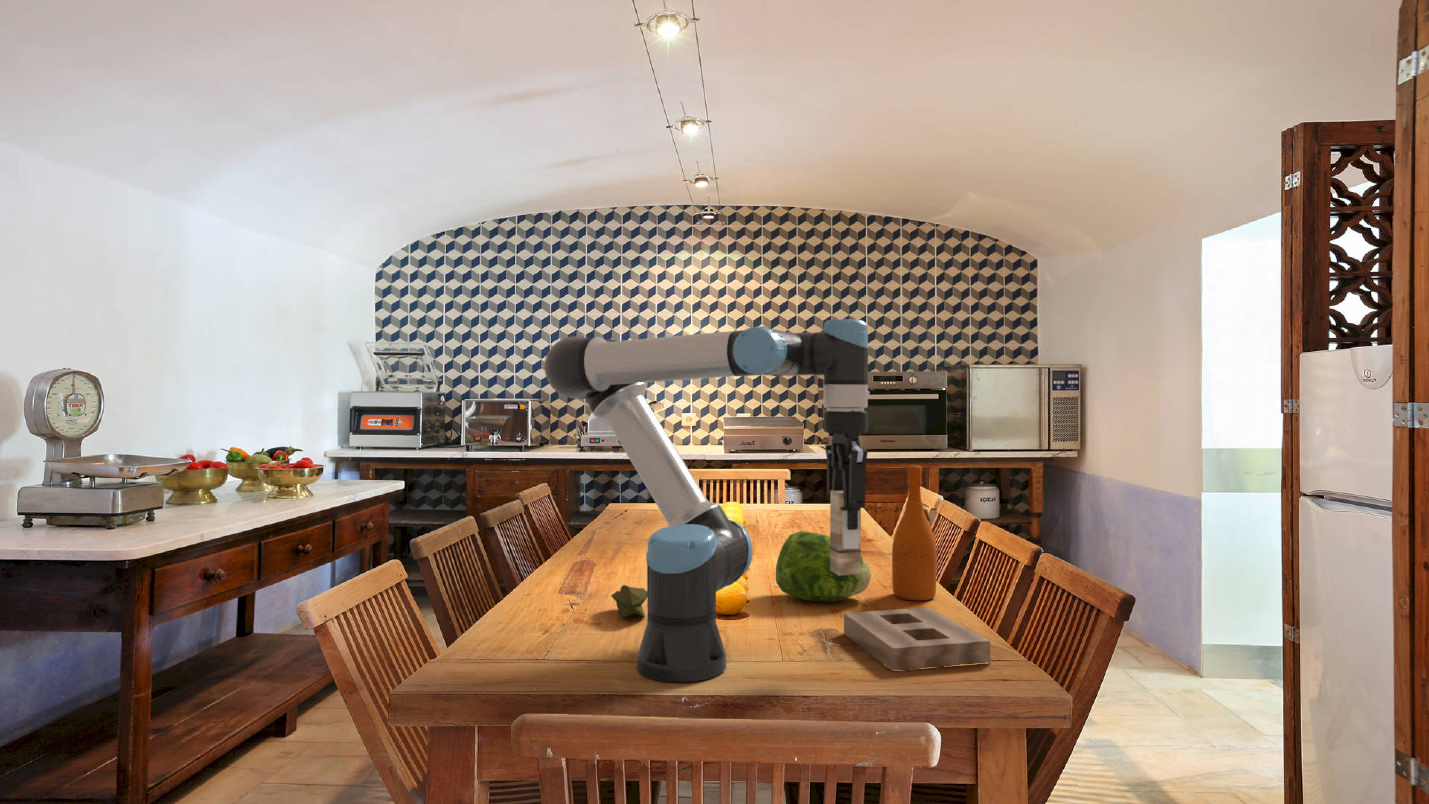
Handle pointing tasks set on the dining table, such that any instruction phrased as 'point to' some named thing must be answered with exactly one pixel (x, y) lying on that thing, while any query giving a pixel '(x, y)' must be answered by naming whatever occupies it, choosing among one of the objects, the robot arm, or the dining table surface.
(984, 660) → the board
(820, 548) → the lettuce
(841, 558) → the peg
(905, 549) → the wine bottle
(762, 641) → the dining table surface
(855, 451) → the robot arm
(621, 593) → the fruit
